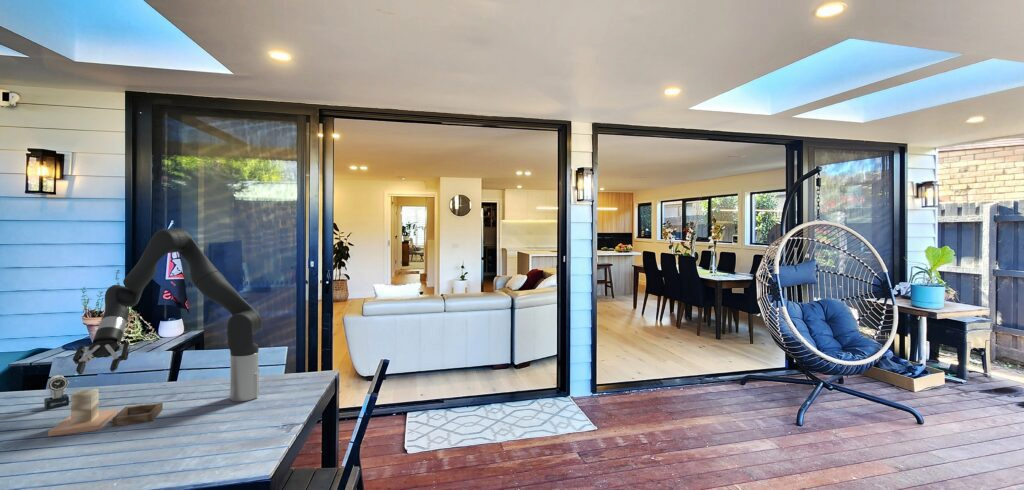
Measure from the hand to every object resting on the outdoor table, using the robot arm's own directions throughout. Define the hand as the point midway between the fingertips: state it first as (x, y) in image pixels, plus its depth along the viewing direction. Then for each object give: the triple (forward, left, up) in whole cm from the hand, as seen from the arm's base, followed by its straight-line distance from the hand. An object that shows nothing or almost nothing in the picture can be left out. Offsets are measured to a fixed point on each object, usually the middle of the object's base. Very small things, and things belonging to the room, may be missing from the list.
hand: (96, 371), depth 149 cm
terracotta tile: (0, +8, -15) cm, 17 cm away
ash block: (0, +8, -13) cm, 15 cm away
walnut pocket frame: (-14, +8, -15) cm, 22 cm away
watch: (+16, -14, -15) cm, 26 cm away
